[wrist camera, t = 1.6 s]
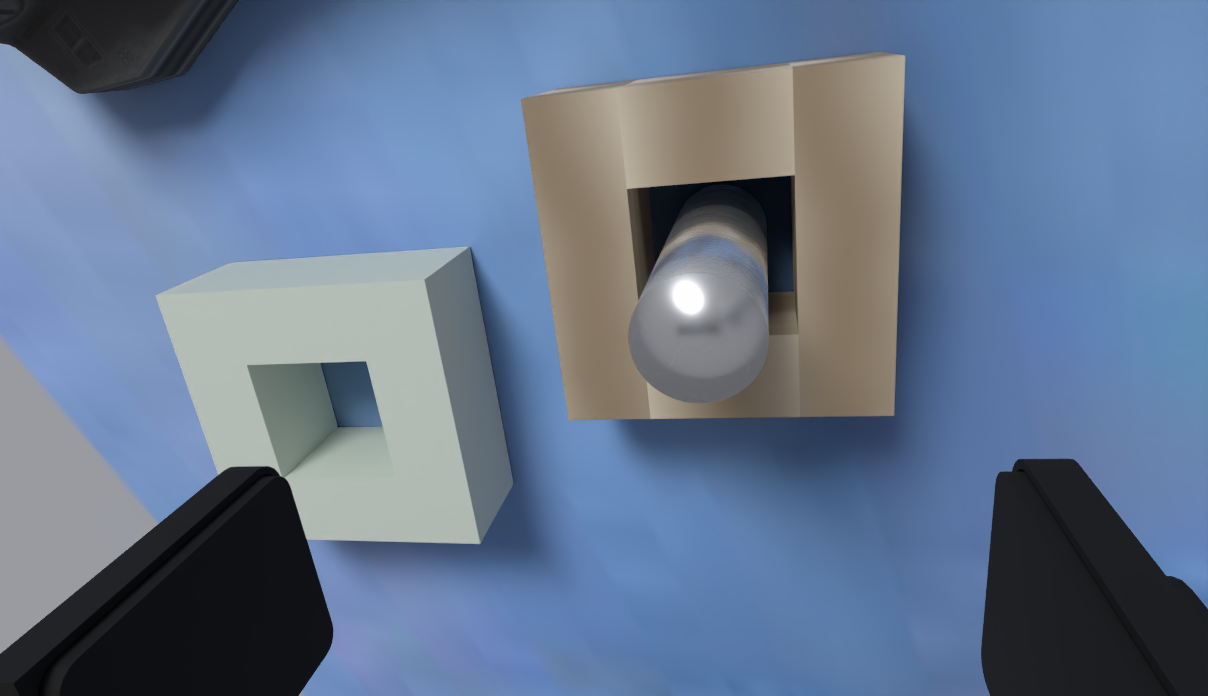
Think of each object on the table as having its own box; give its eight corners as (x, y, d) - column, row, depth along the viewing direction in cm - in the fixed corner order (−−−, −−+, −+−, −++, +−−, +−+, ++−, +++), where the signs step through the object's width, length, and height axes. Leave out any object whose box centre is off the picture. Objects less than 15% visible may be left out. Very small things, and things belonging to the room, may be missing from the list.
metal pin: (765, 180, 24) (766, 269, 15) (768, 269, 25) (771, 402, 16) (672, 188, 25) (621, 277, 16) (679, 274, 26) (635, 404, 17)
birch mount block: (882, 51, 22) (904, 55, 19) (876, 361, 26) (894, 415, 22) (556, 88, 24) (520, 99, 21) (593, 369, 28) (568, 419, 24)
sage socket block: (469, 246, 27) (424, 279, 23) (513, 483, 31) (480, 544, 27) (230, 262, 29) (155, 295, 26) (298, 482, 33) (240, 537, 29)
